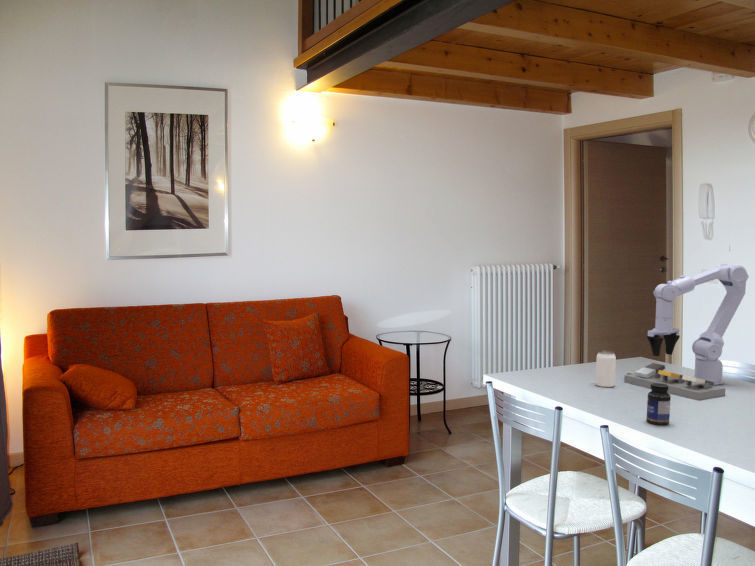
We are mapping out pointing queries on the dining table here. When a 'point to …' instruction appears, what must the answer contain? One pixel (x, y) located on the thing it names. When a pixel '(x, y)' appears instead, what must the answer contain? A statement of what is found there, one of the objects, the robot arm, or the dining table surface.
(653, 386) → the pill bottle
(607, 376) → the can
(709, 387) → the rocker switch panel
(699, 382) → the rocker
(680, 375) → the block
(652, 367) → the rocker
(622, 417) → the dining table surface
